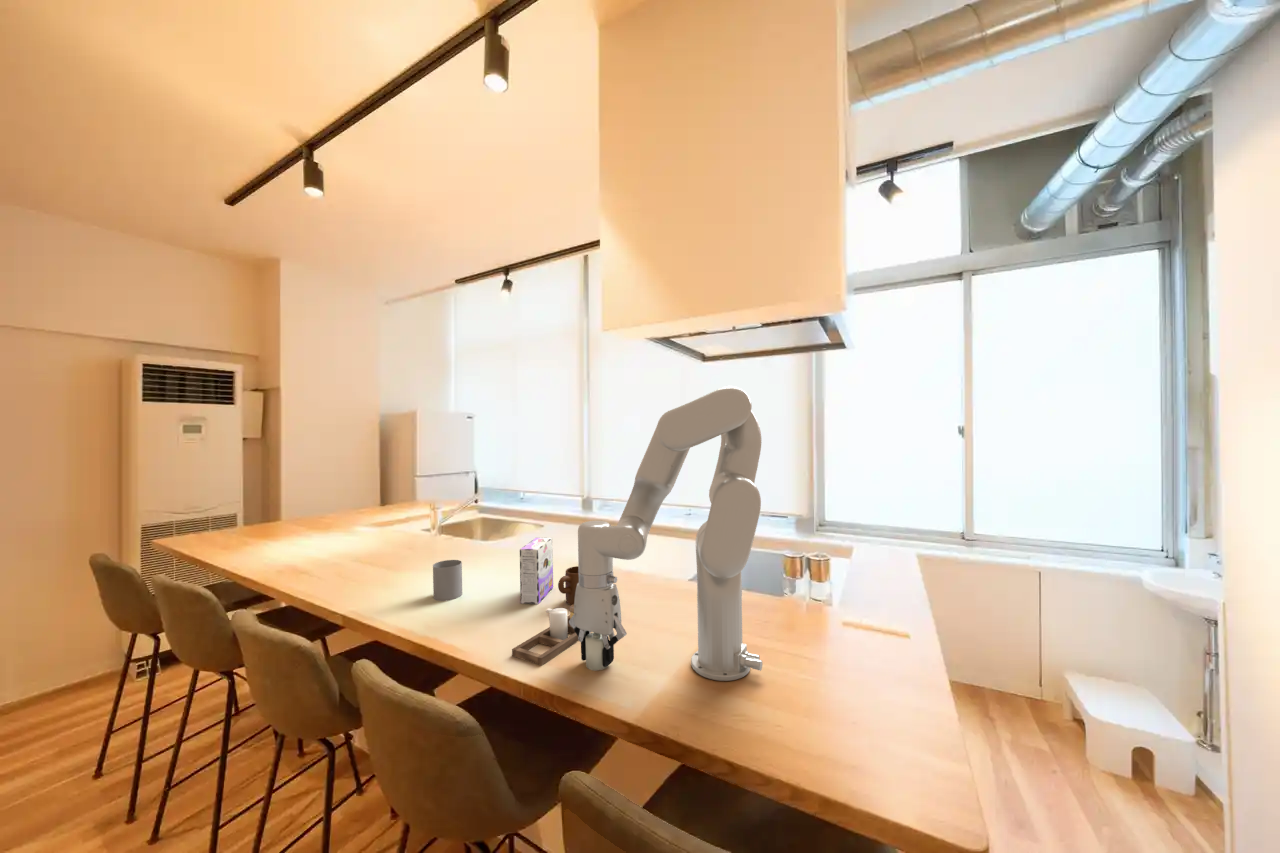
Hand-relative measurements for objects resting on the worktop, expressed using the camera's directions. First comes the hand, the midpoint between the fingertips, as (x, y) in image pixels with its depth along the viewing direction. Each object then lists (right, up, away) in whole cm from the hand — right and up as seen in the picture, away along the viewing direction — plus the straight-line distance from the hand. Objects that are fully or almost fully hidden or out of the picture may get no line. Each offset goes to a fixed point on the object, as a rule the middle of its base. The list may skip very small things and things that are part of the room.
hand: (597, 660), depth 102 cm
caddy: (-10, -1, +13) cm, 16 cm away
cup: (-50, -2, +43) cm, 66 cm away
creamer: (-11, -1, +13) cm, 17 cm away
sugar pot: (0, -1, 0) cm, 1 cm away
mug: (-10, -1, +35) cm, 36 cm away
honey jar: (-6, -1, +19) cm, 20 cm away
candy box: (-22, -1, +42) cm, 47 cm away
